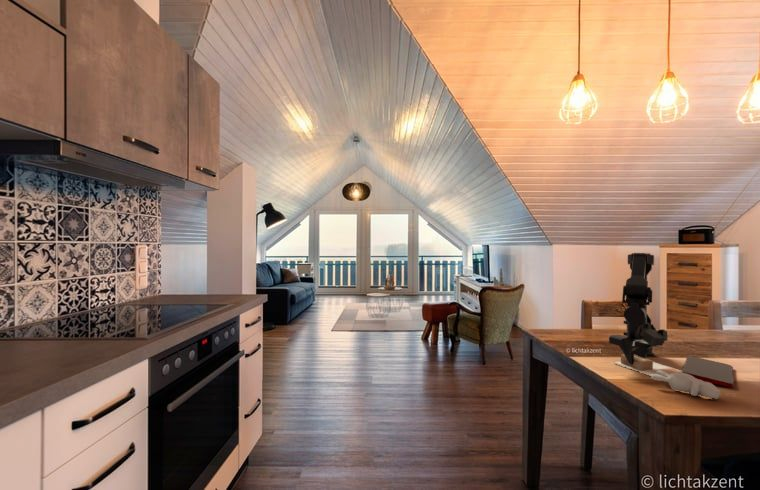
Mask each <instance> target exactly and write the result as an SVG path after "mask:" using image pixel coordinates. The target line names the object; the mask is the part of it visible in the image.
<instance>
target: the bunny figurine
mask: <svg viewBox="0 0 760 490" xmlns="http://www.w3.org/2000/svg"><path fill="white" fill-rule="evenodd" d="M657 374H659V375H662V376H659V375H655V374H651V377H649V378H650V379H652V380H655V381H658V382H665V383H666V382H667V383H668V385H669V386H670V388H671V390H673V389H675V390H679V391H684V392H689V393H690V394H691V395H690V394H689V395H690V396H694V397H698V396H697V395H701V396H705V397H709V398H714V399H713V400H718V399H719V398H720V397H721V393H722V390H720V389H718V387H716V386H715V385H714V383H710V382H706V381H702V380H699V379H696V378H694V377H693V376H691V375H689V374H686V373H682V372H676V373H672V374H668V373H666V372H664V371H662V370H657ZM663 376H665V377H663Z"/></svg>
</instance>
